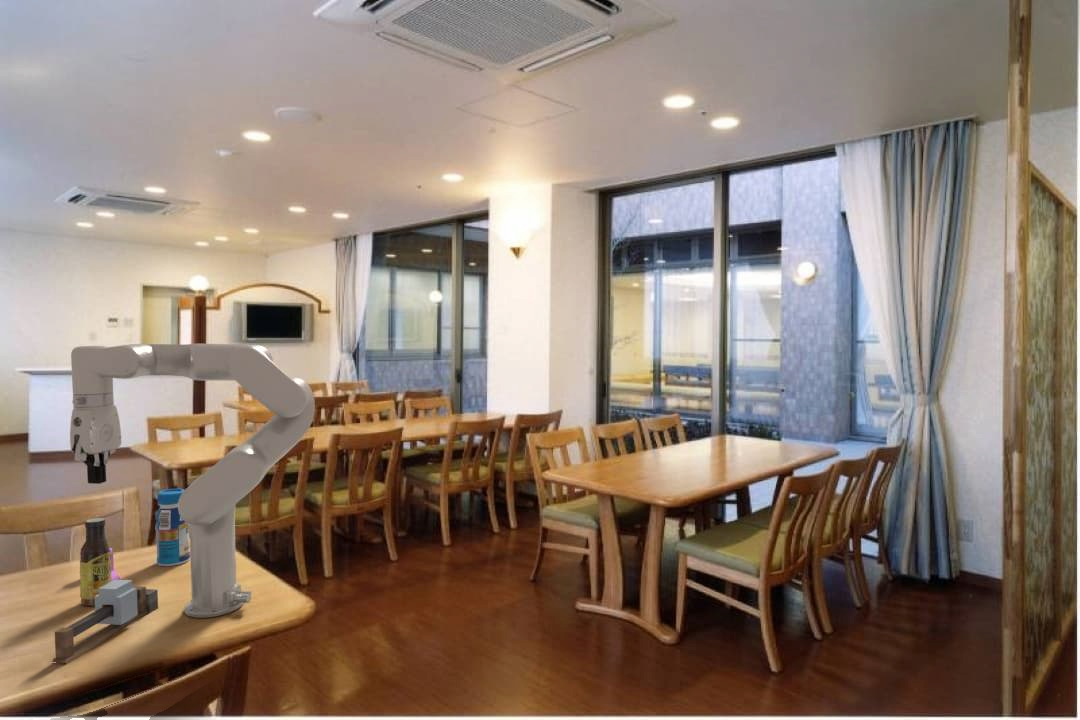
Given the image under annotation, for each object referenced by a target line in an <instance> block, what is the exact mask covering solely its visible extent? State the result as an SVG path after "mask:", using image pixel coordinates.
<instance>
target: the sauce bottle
mask: <svg viewBox="0 0 1080 720" xmlns="http://www.w3.org/2000/svg"><path fill="white" fill-rule="evenodd" d="M84 526H85V534H86V535H85V541H84V543H83V544H82V547H81V548H80V558H79V559H80V561H79V576H80V577H79V578H80V579H79V586H80V588H79V589H80V591H79V593H80V596H79V597H80V599H81V600H80V603H81V605H82V606H85V607H92V606H94V607H95V596H96V595H98V594H99V590H98V588H100V587H102V586H104V585H106V584H108V583H110V582H111V551H110V549H109V548H110V547H109V544H108V541H107V539H106V534H105V533H106V532H105V527H106V518H104V517H97V518H96V517H95V518H91V519H87V520H85V521H84Z"/></svg>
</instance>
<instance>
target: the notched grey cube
mask: <svg viewBox="0 0 1080 720" xmlns="http://www.w3.org/2000/svg"><path fill="white" fill-rule="evenodd" d="M98 590H99V594H98V595H96V596H95V605H94V612H95V611H97V610H98V609H100V608H102V607H104V606H105V605H113V609H114V614H113V615H111V616H109V617H108V618H106V619H104V620H102V621H101V622H99V623H97V624H98V625H110V624H114V625H122V624H124V623H125V622H127V621H128V620H130V619H132V618H133V617H135V616H136V615H138V608H137V588H134V587H133V580H132V579H120V580H114V581H112V582H110V583H108V584H106V585H104V586H102V587H100V588H98ZM97 624H96V625H97Z"/></svg>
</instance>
